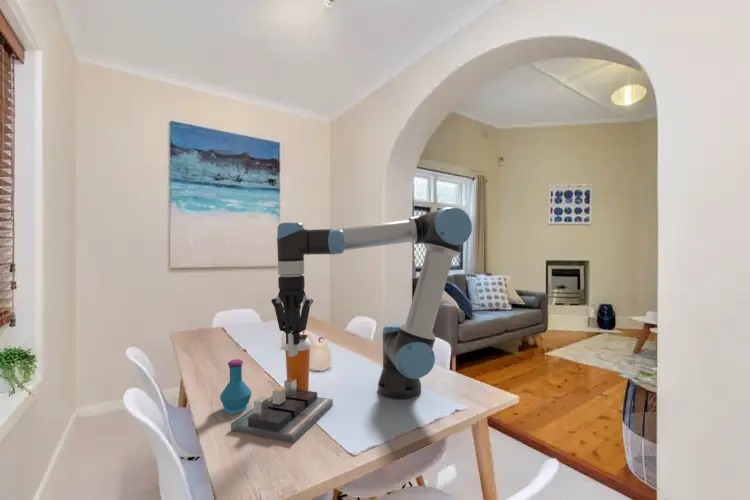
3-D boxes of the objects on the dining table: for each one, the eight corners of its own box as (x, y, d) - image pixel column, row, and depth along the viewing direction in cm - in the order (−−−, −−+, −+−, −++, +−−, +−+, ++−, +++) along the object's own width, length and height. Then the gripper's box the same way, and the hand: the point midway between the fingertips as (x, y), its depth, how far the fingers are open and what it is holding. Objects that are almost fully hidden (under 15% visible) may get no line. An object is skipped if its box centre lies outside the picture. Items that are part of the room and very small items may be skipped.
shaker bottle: (305, 398, 120) (304, 339, 119) (280, 396, 121) (279, 337, 121) (314, 388, 128) (314, 332, 128) (291, 386, 130) (291, 331, 130)
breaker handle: (285, 400, 109) (285, 386, 109) (279, 404, 106) (279, 390, 106) (278, 399, 109) (278, 385, 109) (272, 403, 107) (272, 389, 106)
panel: (332, 405, 115) (332, 380, 114) (293, 443, 93) (293, 412, 93) (279, 397, 121) (278, 373, 121) (230, 430, 99) (230, 401, 99)
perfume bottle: (221, 418, 107) (220, 367, 106) (219, 405, 115) (218, 359, 115) (253, 411, 111) (253, 363, 111) (249, 399, 119) (248, 354, 119)
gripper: (317, 274, 107) (318, 353, 107) (279, 274, 111) (281, 349, 112) (304, 276, 100) (306, 361, 100) (264, 276, 104) (266, 357, 104)
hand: (293, 355), depth 106 cm, fingers closed
